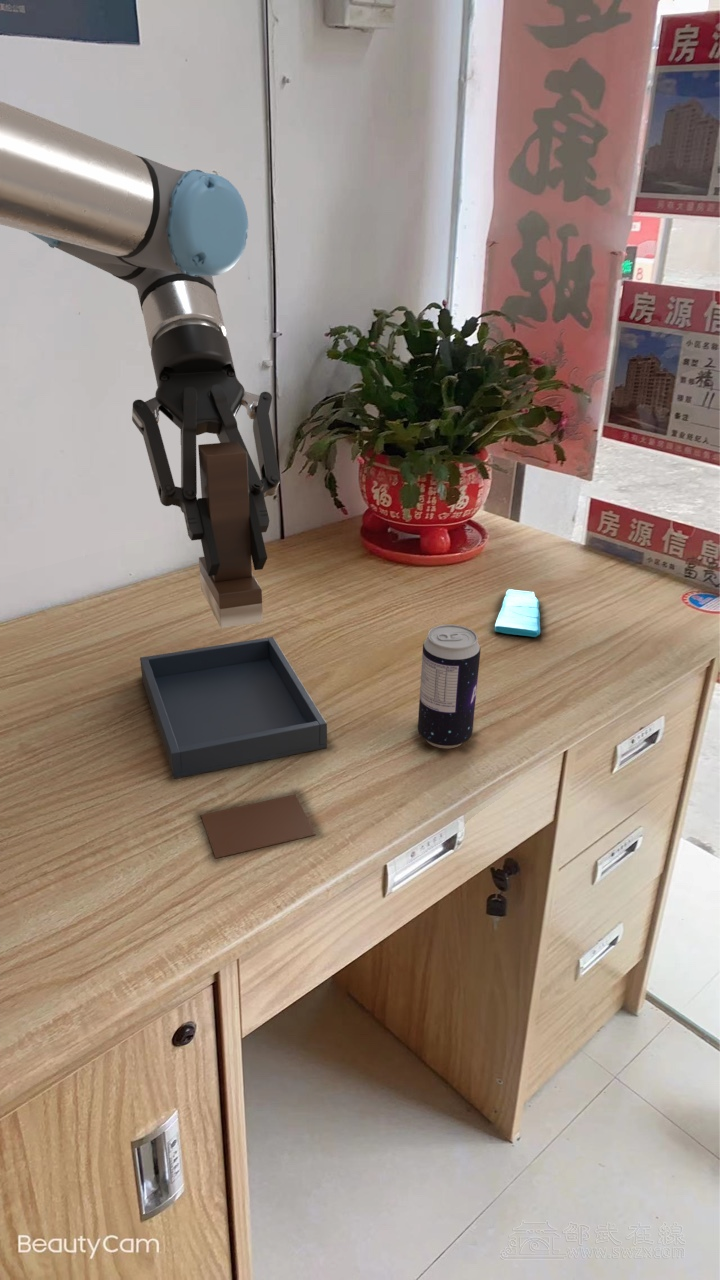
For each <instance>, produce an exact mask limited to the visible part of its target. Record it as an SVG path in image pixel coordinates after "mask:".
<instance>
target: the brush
mask: <svg viewBox="0 0 720 1280" xmlns="http://www.w3.org/2000/svg"><path fill="white" fill-rule="evenodd" d="M197 448H198V449H197V450H198V462H199V463H198V465H199V478H200V479H199V480H200V491H201V493H200V494H201V498H206V501H207V506H208V511H209V515H210V519H211V524H212V528H213V533H214V538H215V542H216V547H217V552H218V556H219V561H220V566H219V569H218V572H217V575H215V576H208V572H207V567H206V562H205V557H204V556H200V557H199V556H198V565H199V566H198V567H199V579H200V590H201V592H202V594H203V596H204V598H205V599H206V602H207V604H208V606H209V608H210V609H211V612H212V613H213V615H214V617H215V620H216V622H217V623H218V626H219V628H220V629H228V628H234V627H241V626H247V625H254V624H260V623H264V614H263V613H264V612H263V611H264V609H263V588H262V586H260V584H259V583H258V581H257V580H256V578H255V576H254V574H253V561H252V556H251V539H250V514H249V490H248V466H247V452H246V451H245V450H244V449H243V448H242V447H241V445H240V444H239V443H238V442H226V443H220V442H217V443H216V442H215V443H204V444H202V443H201V444H198V445H197Z"/></svg>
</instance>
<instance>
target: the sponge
mask: <svg viewBox="0 0 720 1280" xmlns="http://www.w3.org/2000/svg"><path fill="white" fill-rule="evenodd" d="M535 593H536V592H534V591H530V590H529V591H528V590H520V589H519V590H518V589H512V588H509V589H507V590H506V592H505V596H504V598H503V600H502V604H501V608H500V610H499V613H498V615H497V618H496V620H495V623H494V632H496V633H501V634H505V635H514V636H517V635H518V636H525V637H530V638H537V637H538V636H540V634H541V622H540V620H541V614H540V601H539V599H538V598H537V597H536V594H535Z"/></svg>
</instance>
